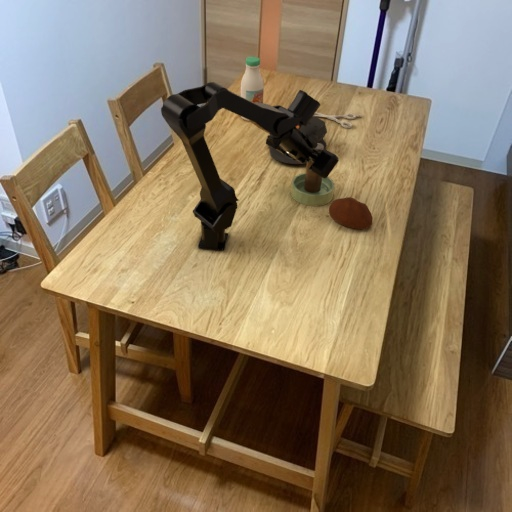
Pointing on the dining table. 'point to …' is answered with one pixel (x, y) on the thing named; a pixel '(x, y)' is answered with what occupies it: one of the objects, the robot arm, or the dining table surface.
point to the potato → (351, 213)
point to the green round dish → (312, 198)
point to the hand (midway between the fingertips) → (318, 165)
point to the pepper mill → (313, 176)
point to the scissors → (339, 117)
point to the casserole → (283, 157)
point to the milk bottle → (252, 82)
